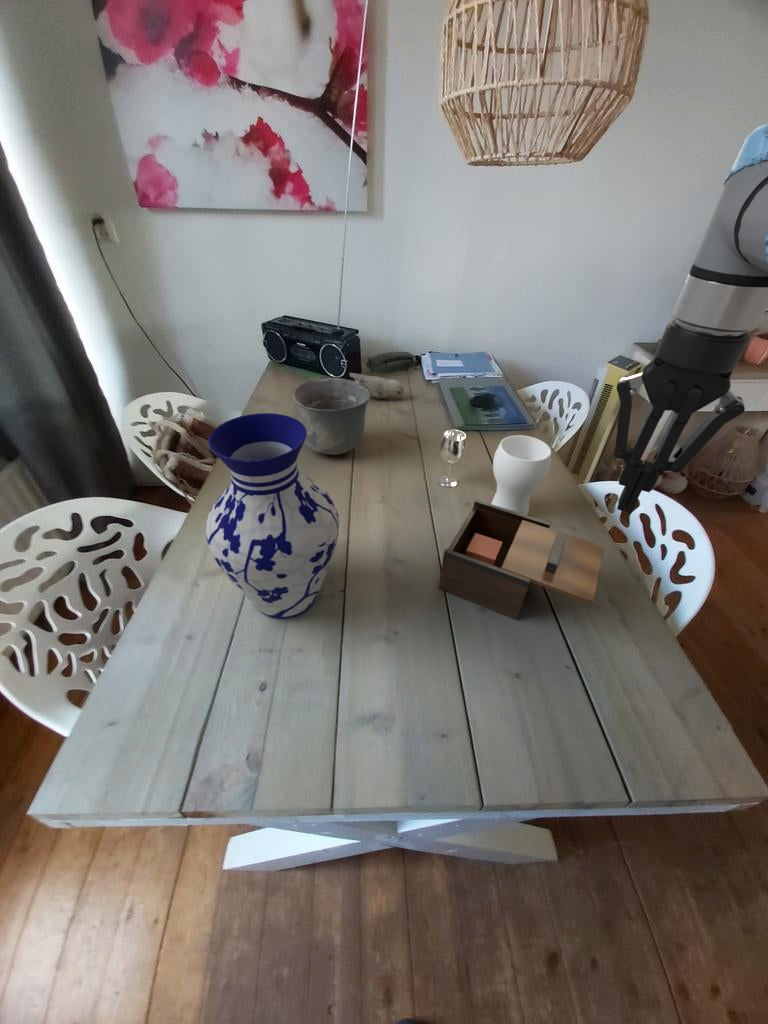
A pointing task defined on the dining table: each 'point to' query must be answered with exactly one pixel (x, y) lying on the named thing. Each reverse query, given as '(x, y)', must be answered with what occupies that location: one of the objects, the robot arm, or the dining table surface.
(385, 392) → the decorative bird
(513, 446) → the cup
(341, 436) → the bowl
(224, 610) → the dining table surface
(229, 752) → the dining table surface
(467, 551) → the block
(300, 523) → the vase
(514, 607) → the box
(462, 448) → the wineglass
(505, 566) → the sliding lid
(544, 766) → the dining table surface
